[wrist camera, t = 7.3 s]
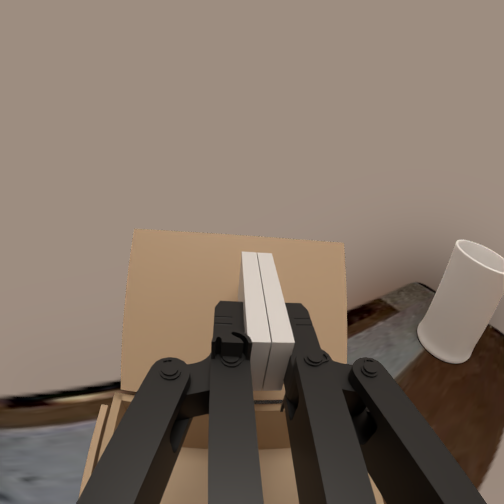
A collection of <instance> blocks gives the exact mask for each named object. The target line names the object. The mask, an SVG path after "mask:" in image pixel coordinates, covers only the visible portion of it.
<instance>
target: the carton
mask: <svg viewBox="0 0 504 504" xmlns="http://www.w3.org/2000/svg"><path fill="white" fill-rule="evenodd" d="M134 396H135V395H129V394H123V393H117V392H115V395H114V398H113V402H112V406H111V409H109V407H108V405H103V404H102V405H101V408H100V412H99V415H98V419H97V422H96V426H95V430H94V433H93V437H92V441H91V445H90V449H89V453H88V457H87V461H86V465H85V470H84V474H83V479H82V484H81V489H80V494H79V497H80V495H81V493H82V492H83V490H84V488H85V486H86V484H87V482H88V480H89V478H90V476H91V474H92V472H93V471H94V469H95V467H96V465H97V463H98V461H99V459H100V457H101V456H102V454H103V452H104V450H105V448H106V446H107V445H108V443H109V441H110V439H111V437H112V435H113V434H114V432H115V430H116V428H117V426H118V425H119V423H120V421H121V419H122V417H123V416H124V414H125V412H126V410H127V408H128V407H129V405H130V403H131V401H132V400H133V398H134ZM281 404H282V403H281ZM281 404H254V409H255V419H256V430H257V440H258V451H259V461H260V471H261V481H262V491H263V500H264V504H299V499H298V493H297V486H296V479H295V473H294V466H293V460H292V453H291V447H290V440H289V434H288V428H287V421H286V415H285V409H284V410H283V412H280V408H281ZM208 433H209V414H206V415H201V416H196V417H193V419H192V422H191V424H190V427H189V429H188V432H187V435H186V437H185V440H184V442H183V445H182V448H181V450H180V453H179V455H178V458H177V461H176V463H175V466H174V468H173V471H172V474H171V476H170V479H169V481H168V484H167V486H166V489H165V492H164V494H163V497H162V499H161V502H160V504H208ZM368 475H369V474H368ZM369 478H370V482H371V485H372V489H373V492H374V496H375V500H376V503H377V504H387V503H386V502H385V500H384V498H383V497H382V495H381V493H380V492H379V490H378V488H377V487H376V485H375V483H374V482H373V480H372V478H371V477H370V475H369Z"/></svg>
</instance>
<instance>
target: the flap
mask: <svg viewBox="0 0 504 504" xmlns="http://www.w3.org/2000/svg"><path fill="white" fill-rule="evenodd" d="M242 251H243V252H256V253H257V252H259V253H272V256H273V260H274V263H275V267H276V271H277V275H278V279H279V282H280V286H281V290H282V294H283V298H284V302H285V303H301V304H302V305H303V306H304V307H305V308H306V309H307V310H308V312H309V315H310V318H311V321H312V324H313V326H314V329H315V332H316V335H317V338H318V341H319V344H320V347H321V349H322V350H324V351H325V352H327V353H328V354H329V356H330V357H331V359H332V360H333V361H335V362H339V363H343V364H347V297H346V273H345V272H346V271H345V253H344V243H337V242H325V241H312V240H300V239H286V238H285V239H284V238H273V237H259V236H244V235H229V234H214V233H198V232H182V231H165V230H148V229H147V230H146V229H134V234H133V241H132V247H131V254H130V262H129V269H128V278H127V287H126V296H125V308H124V320H123V335H122V356H121V389H122V390H128V391H135V392H137V391H138V389H139V387H140V385H141V384H142V382H143V380H144V379H145V377H146V375H147V373H148V372H149V370H150V368H151V366H152V365H153V364H154V363H155V362H156V361H158V360H160V359H162V358H167V357H173V358H178V359H180V360H183V361H184V362H185V363H186V364H192V363H197V362H200V361H202V360H204V359H206V358H207V357H208V356H209V355H210V353H211V341H212V338H213V326H214V311H215V307H216V305H217V304H218V303H219V301H237V302H238V287H239V276H240V265H241V254H242ZM284 395H285V387H284V384H283V387H282V390H281V391H262V390H261V391H253V398H254V400H283V398H284Z"/></svg>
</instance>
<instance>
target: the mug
mask: <svg viewBox="0 0 504 504" xmlns="http://www.w3.org/2000/svg"><path fill="white" fill-rule="evenodd" d="M503 294H504V258H502V257H501V256H500V255H499V254H497V253H495V252H494V251H492V250H490V249H489V248H487V247H485V246H482V245H480V244H478V243H475V242H472V241H467V240H458V241H457V242H456V244H455V246H454V249H453V252H452V254H451V257H450V260H449V262H448V265H447V268H446V270H445V273H444V275H443V277H442V280H441V282H440V285H439V287H438V289H437V292H436V294H435V296H434V298H433V300H432V303H431V305H430V307H429V309H428V311H427V313H426V315H425V317H424V318H423V320H422V321H421V322H420V324H419V325H418V328H417V334H418V338H419V340H420V342H421V344H422V345H423V346H424V348H425V349H426V350H427V351H428V352H429V353H431V354H432V355H433V356H435V357H436V358H438V359H440V360H442V361H445V362H448V363H454V364H457V363H463V362H465V361H466V360H468V359H469V357H470V356H471V354H472V351H473V349H474V347H475V345H476V343H477V342H478V340H479V338H480V337H481V335H482V333H483V332H484V330H485V328H486V326H487V325H488V323H489V321H490V319H491V317H492V316H493V314H494V312H495V310H496V308H497V306H498V304H499V302H500V300H501V298H502V296H503Z"/></svg>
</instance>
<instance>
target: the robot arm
mask: <svg viewBox="0 0 504 504" xmlns="http://www.w3.org/2000/svg"><path fill="white" fill-rule="evenodd" d="M283 384H284V387H285V395H284V398H283V401H282V404H281V408H280V412H283V410H284V409H285V415H286V421H287V428H288V434H289V440H290V447H291V453H292V460H293V466H294V473H295V479H296V486H297V493H298V499H299V504H377V503H376V500H375V496H374V492H373V489H372V485H371V482H370V478H369V475H370V477H371V478H372V480H373V482H374V483H375V485H376V487H377V488H378V490H379V492H380V493H381V495H382V497H383V498H384V500H385V502H386V503H387V504H487V503H486V502H485V501H484V499H483V498H482V496H481V495H480V493H479V492H478V491H477V489H476V488H475V486H474V485H473V484H472V482H471V481H470V479H469V478H468V477H467V475H466V474H465V472H464V471H463V470H462V468H461V467H460V465H459V464H458V463H457V461H456V460H455V459H454V457H453V456H452V455H451V453H450V452H449V451H448V449H447V448H446V447H445V445H444V444H443V442H442V441H441V440H440V438H439V437H438V436H437V435H436V433H435V432H434V431H433V429H432V428H431V427H430V425H429V424H428V423H427V421H426V420H425V419H424V417H423V416H422V415H421V414H420V412H419V411H418V410H417V408H416V407H415V406H414V404H413V403H412V402H411V401H410V399H409V398H408V397H407V395H406V394H405V393H404V392H403V390H402V389H401V388H400V387H399V385H398V384H397V383H396V381H395V380H394V379H393V378H392V376H391V375H390V374H389V373H388V371H387V370H386V369H385V368H384V366H383V365H382V364H381V363H379V362H378V361H376V360H374V359H372V358H367V357H365V358H360V359H358V360H356V361H355V362H354V364H353V365H349V364H343V363H339V362H335V361H333V360H332V359H331V357H330V356H329V354H328V353H327V352H325V351H324V350H322V349H321V347H320V344H319V341H318V338H317V335H316V332H315V329H314V326H313V324H312V321H311V318H310V315H309V312H308V310H307V309H306V308H305V307H304V306H303V305H302V304H301V303H285V302H284V298H283V294H282V290H281V286H280V282H279V279H278V275H277V271H276V267H275V263H274V260H273V256H272V253H259V252H257V253H256V252H243V251H242V254H241V265H240V276H239V287H238V302H237V301H219V303H218V304H217V305H216V307H215V311H214V326H213V338H212V341H211V353H210V355H209V356H208V357H207V358H206V359H204V360H202V361H200V362H197V363H192V364H186V363H185V362H184V361H183V360H180V359H178V358H173V357H167V358H162V359H160V360H158V361H156V362H155V363H154V364H153V365H152V366H151V368H150V370H149V372H148V373H147V375H146V377H145V379H144V380H143V382H142V384H141V385H140V387H139V389H138V391H137V392H136V394H135V396H134V398H133V400H132V401H131V403H130V405H129V407H128V408H127V410H126V412H125V414H124V416H123V417H122V419H121V421H120V423H119V425H118V426H117V428H116V430H115V432H114V434H113V435H112V437H111V439H110V441H109V443H108V445H107V446H106V448H105V450H104V452H103V454H102V456H101V457H100V459H99V461H98V463H97V465H96V467H95V469H94V471H93V472H92V474H91V476H90V478H89V480H88V482H87V484H86V486H85V488H84V490H83V492H82V493H81V495H80V497H79V499H78V501H77V503H76V504H160V502H161V499H162V497H163V494H164V492H165V489H166V486H167V484H168V481H169V479H170V476H171V474H172V471H173V468H174V466H175V463H176V461H177V458H178V455H179V453H180V450H181V448H182V445H183V442H184V440H185V437H186V435H187V432H188V429H189V427H190V424H191V422H192V419H193V417H196V416H201V415H206V414H209V433H208V504H264V500H263V491H262V481H261V471H260V461H259V451H258V440H257V430H256V419H255V409H254V398H253V391H261V390H262V391H281V390H282V387H283ZM368 474H369V475H368Z"/></svg>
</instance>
